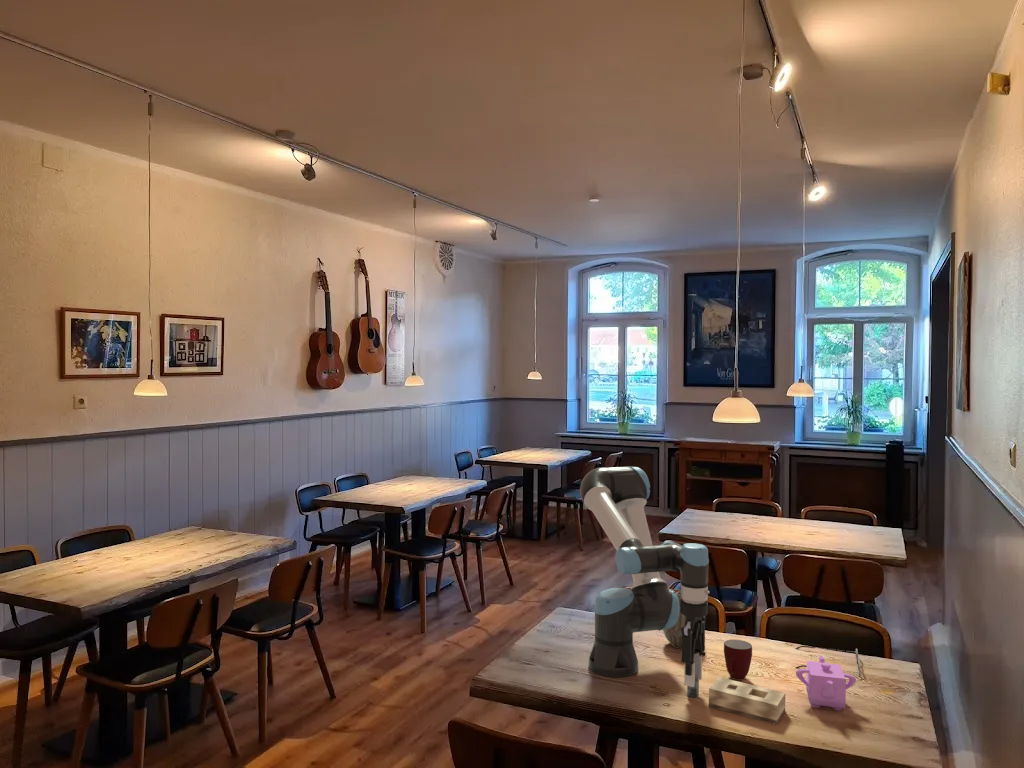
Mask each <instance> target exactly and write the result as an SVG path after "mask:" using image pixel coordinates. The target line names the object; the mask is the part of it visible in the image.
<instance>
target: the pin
mask: <svg viewBox="0 0 1024 768" xmlns="http://www.w3.org/2000/svg"><path fill="white" fill-rule="evenodd" d="M694 663H695V687H690V686H686V695H687V697H689V698H692V699H694V698H695V699H696V698H697V699H698V698H699V697H700V695H699V694H700V691H699V690H700V680H699V652H697V651H695V652H694Z"/></svg>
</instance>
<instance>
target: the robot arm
mask: <svg viewBox="0 0 1024 768" xmlns="http://www.w3.org/2000/svg"><path fill="white" fill-rule="evenodd" d="M650 483H651V482H650V481H649V477H648V475H647V474H646V472H645V471H644V470H643V469H641V468H640V467H638V466H630V465H629V466H615V467H612V466H610V467H596V468H594V469H591V470H590V471H588V473H586V474H585V476H584V477H583V478H582V481H581V484H580V486H579V495H580V499H581V501H582V503H583V504H584V506H585V508H586V509H588V510H589V511H591V512H592V513H593V515H594V517H595V518H596V520H597V521H598V523H599V525H600V526H601V528H602V529H603V531H604V533H605V534H606V536H607V538H608V539H609V541H610V542H611V544H612V545H613V547H614V549H615V551H616V552H615V554H614V555H615V556H614V558H615V564H616V568H617V570H618V572H620V573H621V574H622V575H632V579H633V584H632V586H631V588H627V587H626V588H625V587H620V588H619V587H610V588H606V589H604V590H601V591H600V592H599V593H598V594H597V595H596V596H595V603H594V609H593V610H594V641H593V646H592V648H591V650H590V653H589V656H588V668H589V670H591V671H592V672H594V673H596V674H597V675H602V676H604V677H613V678H623V677H629V676H632V675H634V674H636V673H637V672H638V671H639V659H638V657H637V652H636V650H635V646H634V644H633V643H634V641H633V640H634V639H633V638H634V633H639V632H640V633H642V632H649V631H650V632H651V631H663V629H668V628H672V627H673V626H674V625H675V624H676V622H677V620H678V617H679V610H680V612H681V613H682V614H683V615H685V616H686V621H685V627H682V628H681V631H682V649H681V658H680V662H681V663H684V669H683V670H684V674H683V675H684V676H683V677H684V680H683V681H684V683H683V684H684V686H686V687H687V686H690V687H695V663H694V652H695V651H697V652H699V681H701V680H702V679H703V656H705V657H706V652H705V650H706V620H707V619H706V616H708V614H709V613H708V611H709V604H708V600H709V599H708V597H709V595H710V590H709V588H708V587H709V563H710V559H709V549H708V547H707V546H706V545H704V544H702V543H695V542H694V543H692V542H691V543H688V542H687V543H683V544H680V543H677V542H676V541H671V540H670V541H669V540H668V541H665V542H662V543H661V544H659V545H653V541H652V538H651V537H652V536H651V532H650V529H649V525H648V521H647V516H646V512H645V506H646V505H647V503H648V501H647V499H649V497H650V494H651V490H650V489H651V484H650ZM671 571H673V572H676V573H678V574H680V590H679V591H680V597H681V601H680V607H679V600H678V596H677V594H676V591H675V590H673V589H669V587H668V582H667V581H665V580H664V579H663V578H661V575H660V573H662V572H671Z"/></svg>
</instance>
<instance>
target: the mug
mask: <svg viewBox="0 0 1024 768" xmlns="http://www.w3.org/2000/svg"><path fill="white" fill-rule="evenodd" d="M723 654H724V660H725V667H726V670H727V672H728V675H729V677H730V678H731V680H734V681H743V680H745V679H746V677H747V675H748V674H749V671H750V668H751V663H752V657H753V646H752V644H751V643H750V642H748V641H746V640H742V639H727V640H725V641H724V642H723Z"/></svg>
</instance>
